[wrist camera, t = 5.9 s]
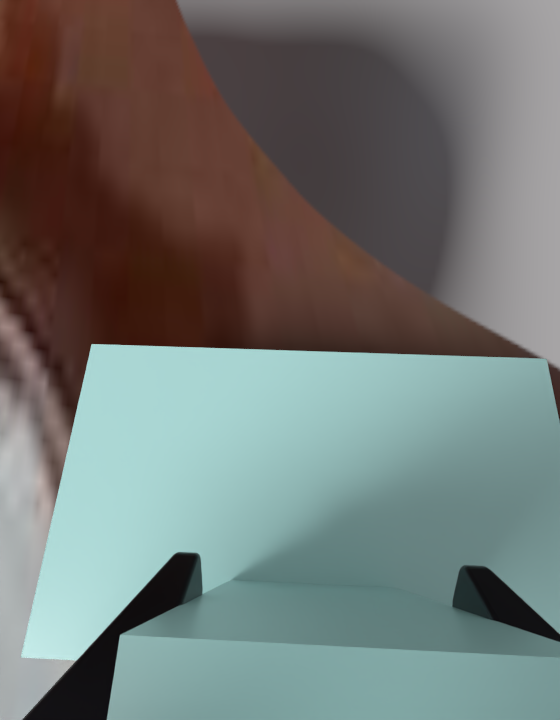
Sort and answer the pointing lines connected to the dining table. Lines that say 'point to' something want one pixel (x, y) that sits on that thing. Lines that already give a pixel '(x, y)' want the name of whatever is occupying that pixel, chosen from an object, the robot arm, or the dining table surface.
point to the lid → (309, 533)
